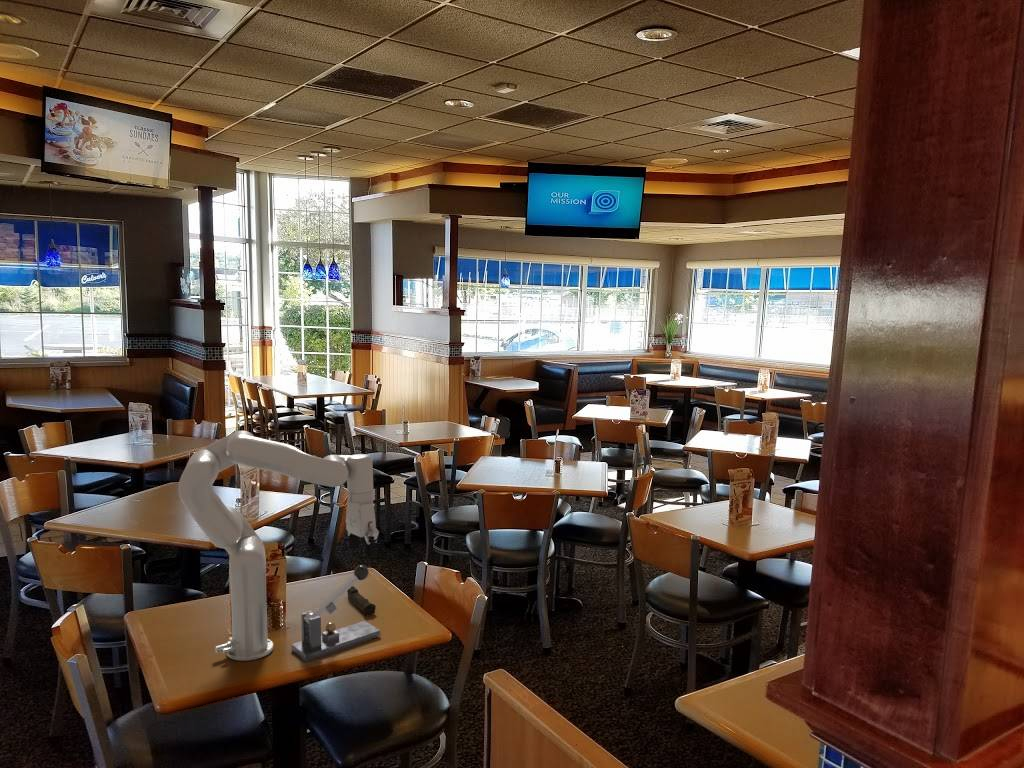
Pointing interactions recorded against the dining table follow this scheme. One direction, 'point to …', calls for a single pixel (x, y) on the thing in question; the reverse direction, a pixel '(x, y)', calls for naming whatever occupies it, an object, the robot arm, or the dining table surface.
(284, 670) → the dining table surface
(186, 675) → the dining table surface
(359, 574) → the lever
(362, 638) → the nutcracker bench
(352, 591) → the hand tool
